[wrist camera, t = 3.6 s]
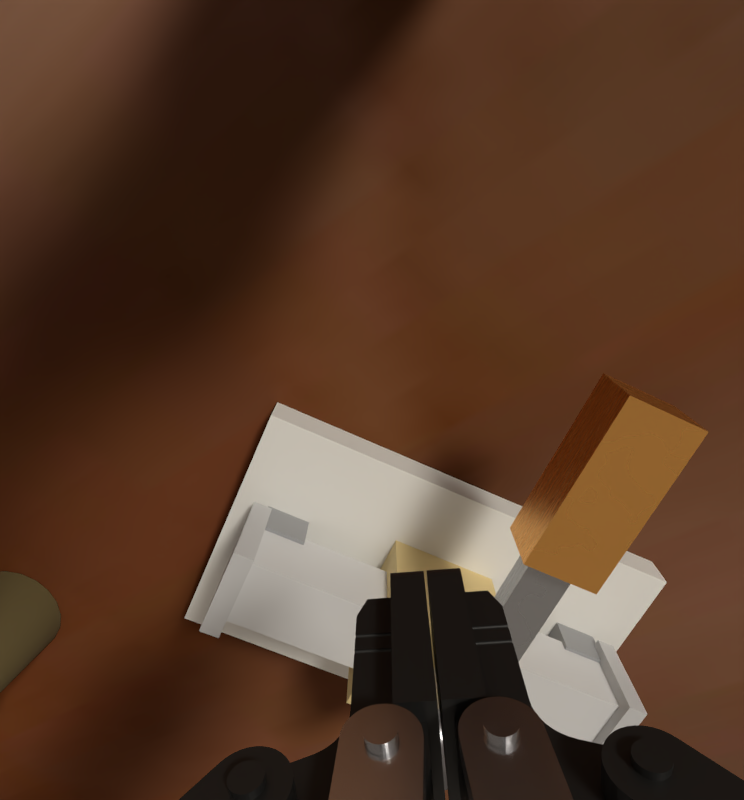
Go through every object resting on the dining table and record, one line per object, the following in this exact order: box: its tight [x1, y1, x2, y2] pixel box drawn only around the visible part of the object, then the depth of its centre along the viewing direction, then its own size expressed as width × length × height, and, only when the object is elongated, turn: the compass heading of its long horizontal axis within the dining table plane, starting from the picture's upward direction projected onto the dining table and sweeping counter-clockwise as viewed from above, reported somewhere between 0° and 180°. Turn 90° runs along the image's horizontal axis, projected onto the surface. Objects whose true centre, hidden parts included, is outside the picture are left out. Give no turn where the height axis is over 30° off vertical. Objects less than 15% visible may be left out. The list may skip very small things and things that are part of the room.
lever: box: [436, 373, 708, 790], centre depth 24 cm, size 3×19×2 cm, turn 156°
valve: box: [185, 402, 667, 744], centre depth 32 cm, size 24×14×10 cm, turn 66°
